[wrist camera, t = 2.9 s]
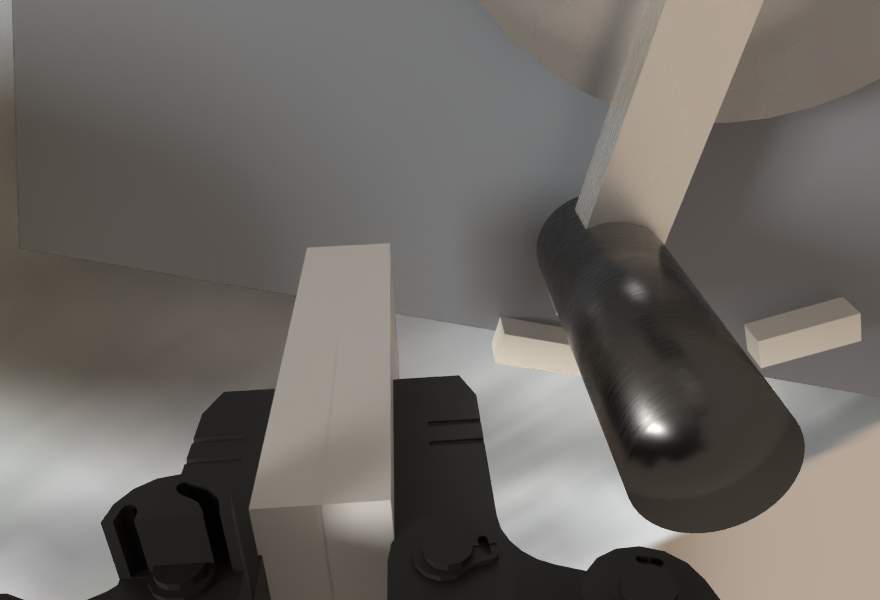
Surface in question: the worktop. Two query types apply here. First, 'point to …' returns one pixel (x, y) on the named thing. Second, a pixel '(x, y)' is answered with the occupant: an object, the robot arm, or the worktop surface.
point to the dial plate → (419, 170)
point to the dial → (650, 220)
